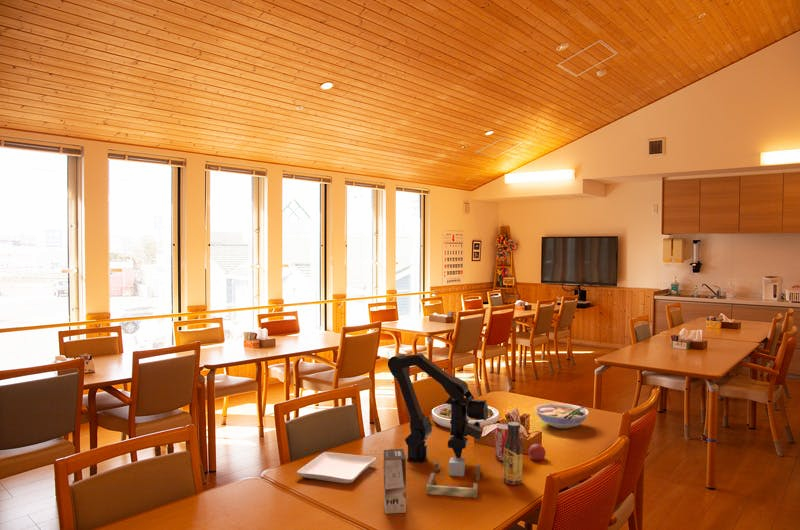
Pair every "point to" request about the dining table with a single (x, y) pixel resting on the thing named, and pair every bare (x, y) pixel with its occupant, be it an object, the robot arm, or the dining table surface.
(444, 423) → the bowl
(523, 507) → the dining table surface
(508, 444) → the sauce bottle
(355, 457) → the salad plate
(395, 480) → the coffee box
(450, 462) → the white cube
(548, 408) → the ramen bowl
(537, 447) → the fruit
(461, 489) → the wooden pieces
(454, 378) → the robot arm
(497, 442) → the soda can
